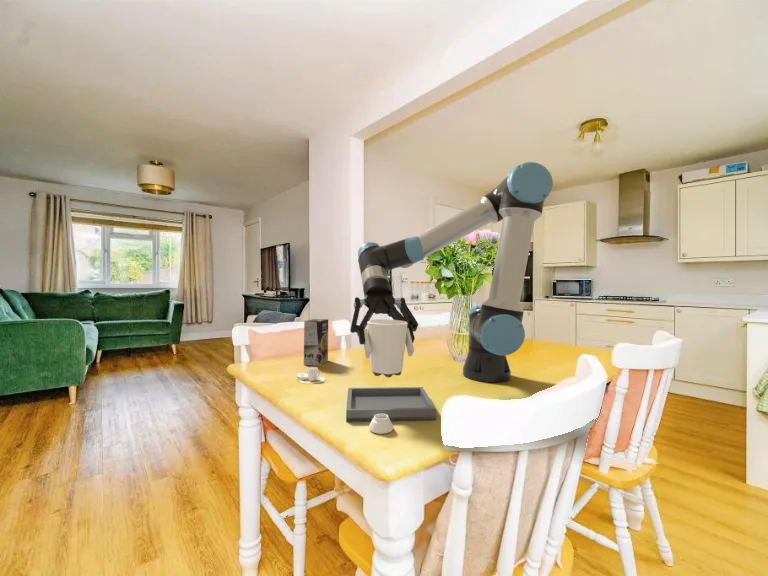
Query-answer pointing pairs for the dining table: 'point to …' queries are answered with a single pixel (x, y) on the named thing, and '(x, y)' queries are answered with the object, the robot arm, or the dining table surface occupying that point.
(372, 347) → the cup
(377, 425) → the lidless jar
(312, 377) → the teacup and saucer
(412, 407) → the tray
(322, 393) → the dining table surface
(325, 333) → the coffee box
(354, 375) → the dining table surface
